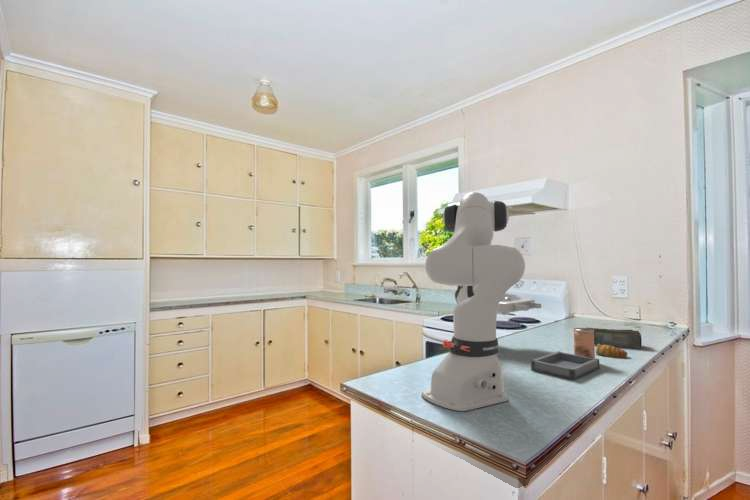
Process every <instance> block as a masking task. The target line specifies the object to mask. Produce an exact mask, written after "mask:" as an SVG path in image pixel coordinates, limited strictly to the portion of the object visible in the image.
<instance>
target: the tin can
mask: <svg viewBox="0 0 750 500" xmlns="http://www.w3.org/2000/svg"><path fill="white" fill-rule="evenodd" d="M589 328H590V327H573V345H574V347H573V348H574V350H573V352H574V353H573V354H574V355H579V356H585V357H590V358H595V359H596V357H595V356H596V355H595V354H596V349H595V345H594V330H593V329H589Z"/></svg>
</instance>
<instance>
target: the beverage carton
mask: <svg viewBox="0 0 750 500" xmlns="http://www.w3.org/2000/svg"><path fill="white" fill-rule="evenodd" d="M588 328H589V329H593V330H594V344H595V345H594V346H597V345H598V344H602V345H611V346H613V347H615V346H616V347H617V348H627V347H628V348H629V349H637V348H638V349H640V350H641V349H642V342H643V341H642V334H641V332H640V331H639V330H633V329H614V328H613V329H610V328H609V329H608V328H599V327H598V328H596V327H588ZM628 348H627V349H628ZM638 349H637V350H638Z"/></svg>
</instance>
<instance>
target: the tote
mask: <svg viewBox="0 0 750 500" xmlns="http://www.w3.org/2000/svg"><path fill="white" fill-rule="evenodd" d="M600 368H601V367H600V359H599V358H596V357H595V358H590V357H585V356H579V355H574V353H567V352H563V351H556V352H555V351H554V352H552V353H549V354H546V355H543V356H540V357H537V358H534V359H530V370H531V371H535V372H537V373H542V374H545V375H546V374H547V375H551V376H555V377H558V378H562V379H567V380H571V381H576V380H578V379H580V378H583V377H584V376H587V375H589V374H591V373H593V372H595V371H598V370H600Z"/></svg>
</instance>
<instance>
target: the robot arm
mask: <svg viewBox="0 0 750 500" xmlns="http://www.w3.org/2000/svg"><path fill="white" fill-rule="evenodd" d="M509 219H510V213H509V209H508V207H507V204H506V203H505V202H504V201H500V200H494V201H491V200H488V197H486V196H485V195H484V194H483V193H480V192H473V191H472V192H469V193H467V194H465V195H464V196H462V198H461V199H460V201H459V202H453V203H452V202H451V203H449V204H447V205H446V207H445V208H444V211H443V214H442V222H443V226H444V228H445V229H446V231H448V232H449V233H452V236H451V237H449V238H448V239H447V241H445V242H444V243H443V244H442V245H439V246H437V247H434V248H433V249H431V251H430V252H429V253H428V255H427V257H426V260H425V271H426V274H427V277H428V278H429V279H430V281H432V283H435V284H440V285H445V286H450V287H451V286H452V287H455V286H456V287H457V289H456V290H455V293H454V299H455V301H456V305H455V307H454V309H453V313H452V315H453V316H452V317H453V319H452V320H453V335H452V337H451V340H447V339H444V340H443V342H442V347H443V348H444V349H445V348H446V349H448V351H449V352H448V353H447V354H446V356H445V357H444V358H443V360H442V361H440V363H439V364H438V365H437V367H435V368H434V370H433V371H432V374H431V380H430V386H429V387H427V388H425V389H424V390H422V391H421V396H422V397H423V399H425V400H426V401H428V402H430V403H432V404H434V405H436V406H439V407H442V408H445V409H449V410H453V411H456V412H457V411H458V412H466V411H467V412H468V411H471V410H474V409H475V410H476V409H480V408H483V407H488V406H492V405H495V404H500V403H505V402H508V401H509V396H508V394H507V393H506V392H505V387H504V386H505V385H504V377H503V367H502V364H501V362H500V361H499V358H498V352H499V345H500V344H499V339H498V338H497V319H498V318H497V315H501V316H502V315H503V316H507V315H508V314H510V313H515V312H520V311H525V312H526V311H530V310H533V309H542V303H538V302H536V300H535V299H533V298H530V297H529V298H528V297H522V296H517V294H509V293H507V291H509V289H511V287H513V286H515V285H516V284H517V283H519V282H520V281H521V279H522V277H523V275H524V273H525V270H526V263H525V259H524V258H525V257H523V254H522V253H521V252H520V250H519V249H517V248H516V247H512V246H507V245H501V244H492V240H493V238H494V232H501V231H503V230H504V229H506V228H507V224H508V223H509Z"/></svg>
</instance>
